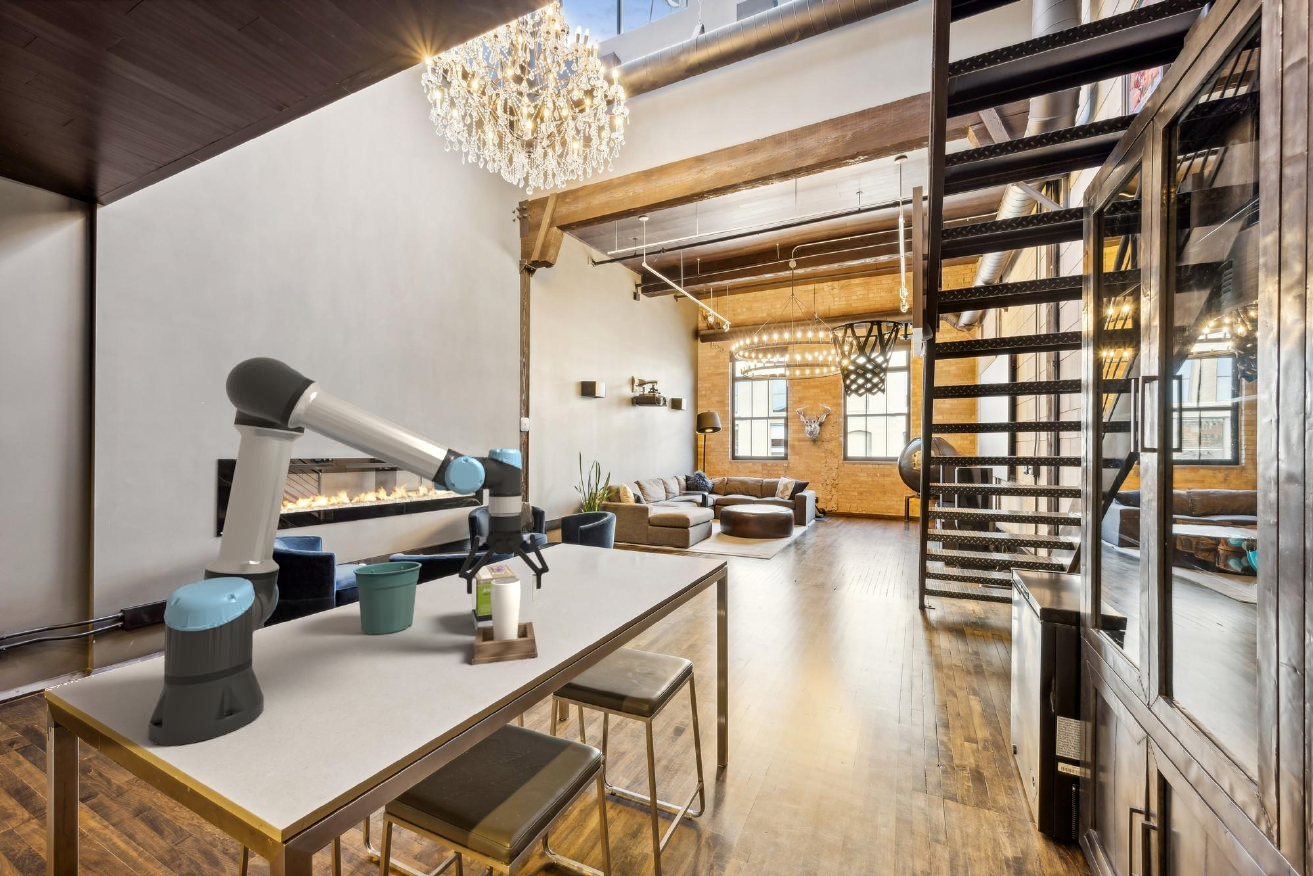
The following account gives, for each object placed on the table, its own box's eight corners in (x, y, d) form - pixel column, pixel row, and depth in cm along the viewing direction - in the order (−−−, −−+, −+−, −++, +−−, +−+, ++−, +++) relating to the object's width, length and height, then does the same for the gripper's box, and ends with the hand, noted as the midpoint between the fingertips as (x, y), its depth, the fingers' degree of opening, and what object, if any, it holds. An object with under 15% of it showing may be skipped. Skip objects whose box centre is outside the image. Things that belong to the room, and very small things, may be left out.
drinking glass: (484, 649, 122) (484, 583, 122) (500, 639, 128) (500, 577, 129) (511, 652, 120) (511, 585, 120) (525, 641, 126) (525, 578, 127)
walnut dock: (471, 664, 115) (471, 646, 115) (475, 643, 129) (475, 626, 129) (537, 657, 119) (537, 639, 119) (534, 637, 133) (534, 621, 133)
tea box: (470, 620, 147) (470, 566, 148) (507, 615, 151) (507, 563, 152) (476, 637, 133) (476, 577, 134) (517, 631, 138) (517, 573, 138)
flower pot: (365, 620, 148) (366, 562, 149) (427, 616, 151) (428, 559, 152) (341, 640, 132) (342, 575, 132) (412, 635, 135) (412, 571, 135)
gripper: (557, 511, 132) (556, 597, 131) (450, 514, 125) (449, 605, 124) (560, 514, 125) (560, 605, 124) (446, 517, 118) (445, 614, 117)
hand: (504, 605), depth 124 cm, fingers open, 13 cm apart
